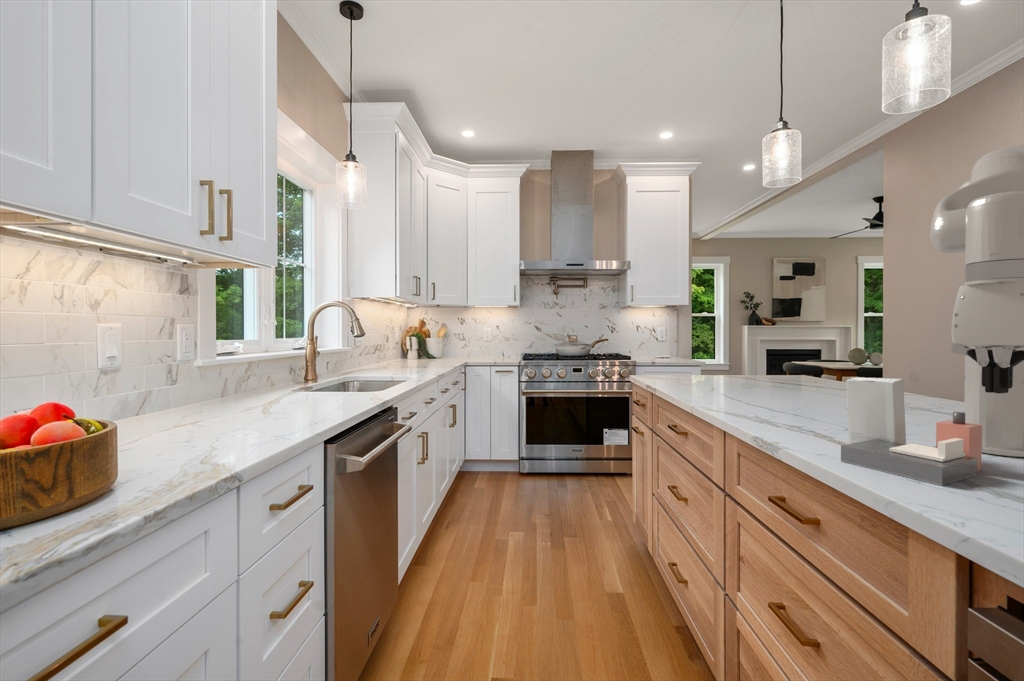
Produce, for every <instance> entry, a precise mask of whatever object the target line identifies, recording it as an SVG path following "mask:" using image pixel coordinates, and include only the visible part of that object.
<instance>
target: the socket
mask: <svg viewBox="0 0 1024 681" xmlns="http://www.w3.org/2000/svg"><path fill="white" fill-rule="evenodd" d="M902 445H907V443H906V444H901V443H895V442H890V441H885V440H879V439H873V440H868V441H862V442H857V443H852V444H849V443H847V444H842V445H840V462H841V461H842V463H847V464H849V465H854V464H855V466H859V467H862V466H863V467H862V468H866V467H867V468H866V469H871V470H875V471H878V470H879V472H883V473H887V474H892V475H895V474H896V476H899V475H900V476H899V477H903V476H904V477H905V478H907V477H908V479H911V478H912V480H915V479H917V480H916V481H920V482H923V483H928V484H933V485H937V486H939V487H940V486H941V487H943V486H946V484H947V485H949V483H950V484H953V482H954V483H957V482H960V481H963V479H964V480H966V478H967V479H971V478H973V476H974V477H977V476H978V471H977V458H975V457H969V456H964V457H960V458H956V459H952V460H948V461H944V462H941V461H936V460H931V459H926V458H921V457H917V456H912V455H907V454H902V453H897V452H892V451H889V448H893V447H897V446H902ZM970 477H971V478H970ZM959 480H960V481H959ZM956 481H957V482H956Z"/></svg>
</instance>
